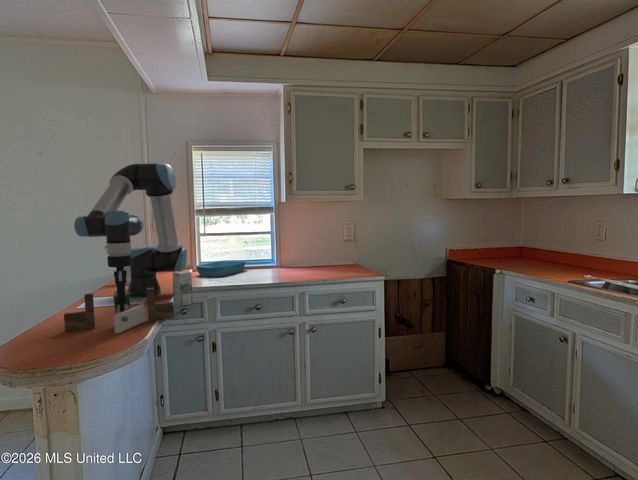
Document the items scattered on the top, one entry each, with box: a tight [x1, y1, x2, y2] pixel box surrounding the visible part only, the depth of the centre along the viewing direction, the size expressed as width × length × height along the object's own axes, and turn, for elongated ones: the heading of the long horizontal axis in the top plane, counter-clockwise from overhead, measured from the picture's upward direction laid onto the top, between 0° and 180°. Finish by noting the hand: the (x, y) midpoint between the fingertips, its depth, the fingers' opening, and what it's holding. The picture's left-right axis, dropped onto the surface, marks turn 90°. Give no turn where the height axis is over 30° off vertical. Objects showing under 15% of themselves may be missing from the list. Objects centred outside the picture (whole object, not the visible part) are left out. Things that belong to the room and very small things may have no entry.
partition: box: [63, 288, 175, 333], centre depth 145 cm, size 3×35×12 cm, turn 116°
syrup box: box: [172, 270, 193, 308], centre depth 173 cm, size 6×6×14 cm
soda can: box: [113, 289, 131, 315], centre depth 142 cm, size 5×5×12 cm
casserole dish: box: [195, 259, 246, 278], centre depth 260 cm, size 37×22×7 cm, turn 161°
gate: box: [113, 304, 147, 334], centre depth 140 cm, size 15×3×6 cm, turn 170°
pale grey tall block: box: [124, 245, 138, 286], centre depth 227 cm, size 7×6×21 cm
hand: (123, 320), depth 142 cm, fingers closed on soda can, 5 cm apart
